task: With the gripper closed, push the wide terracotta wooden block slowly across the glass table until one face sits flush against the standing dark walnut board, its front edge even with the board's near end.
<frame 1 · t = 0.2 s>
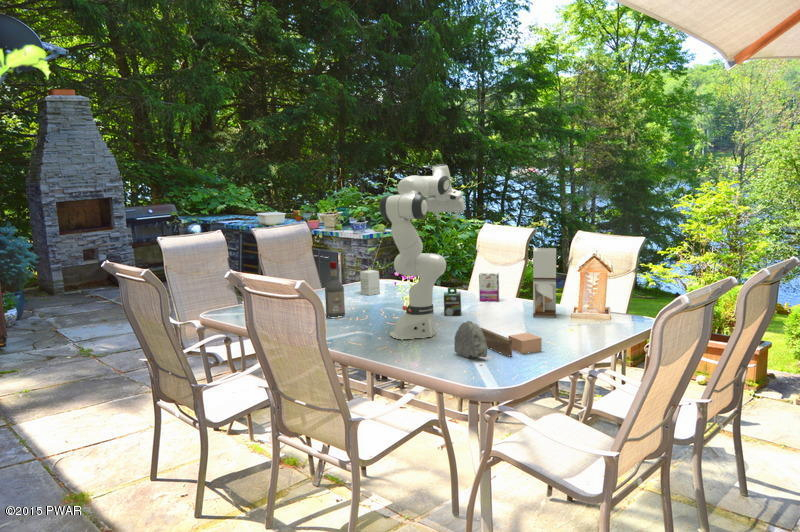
hand: (447, 219, 327), 52 cm above the table, tool tilted 20°, fingers open, 8 cm apart
liquor: (335, 316, 343), on the table
decorative rock: (471, 357, 263), on the table
chalk box: (452, 314, 341), on the table
board: (493, 349, 272), on the table
block: (524, 350, 270), on the table
candy bar box: (489, 301, 371), on the table
display case: (544, 315, 331), on the table
supplement box: (370, 294, 403), on the table
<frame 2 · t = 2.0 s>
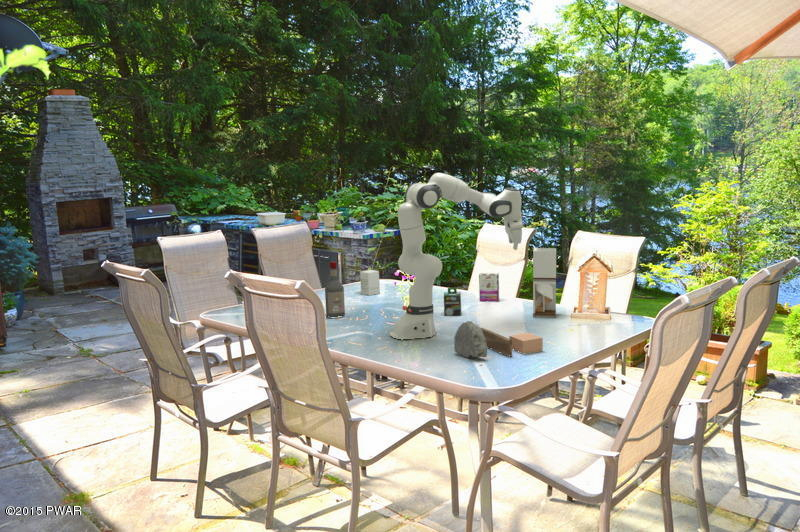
hand: (513, 246, 315), 39 cm above the table, tool pointing down, fingers open, 8 cm apart
nothing on the table moved.
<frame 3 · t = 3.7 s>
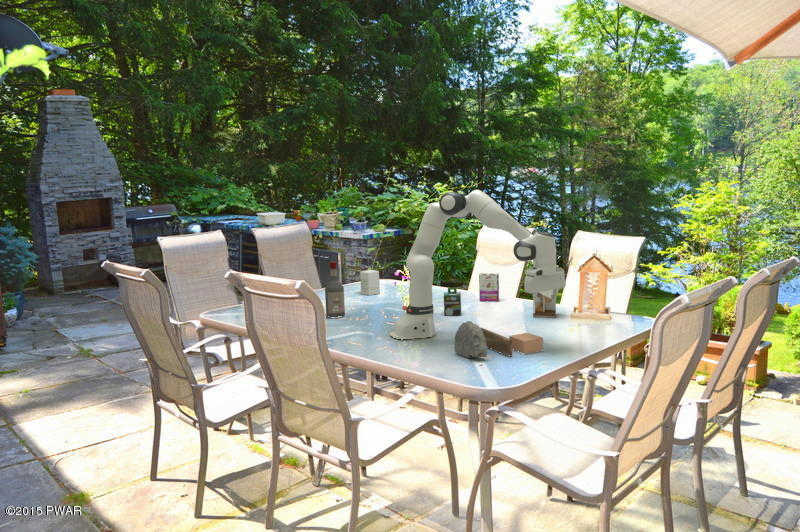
hand: (545, 300, 273), 20 cm above the table, tool pointing down, fingers open, 8 cm apart
nothing on the table moved.
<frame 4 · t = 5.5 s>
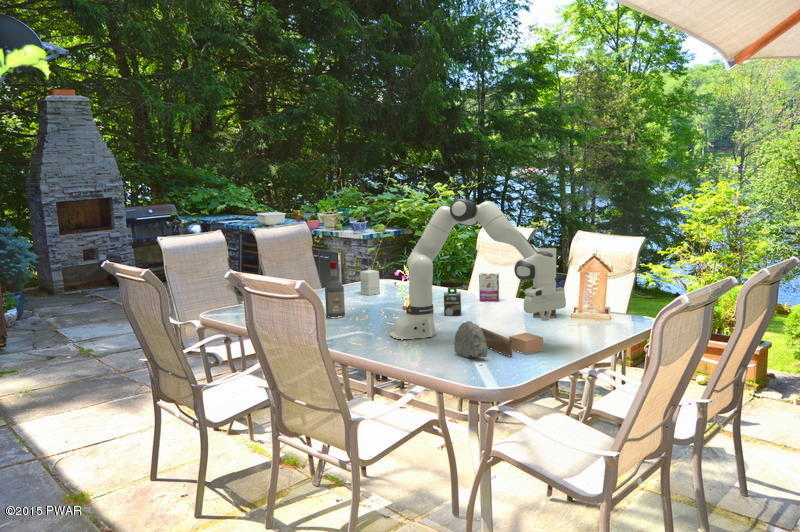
hand: (545, 320, 273), 11 cm above the table, tool pointing down, fingers closed
nothing on the table moved.
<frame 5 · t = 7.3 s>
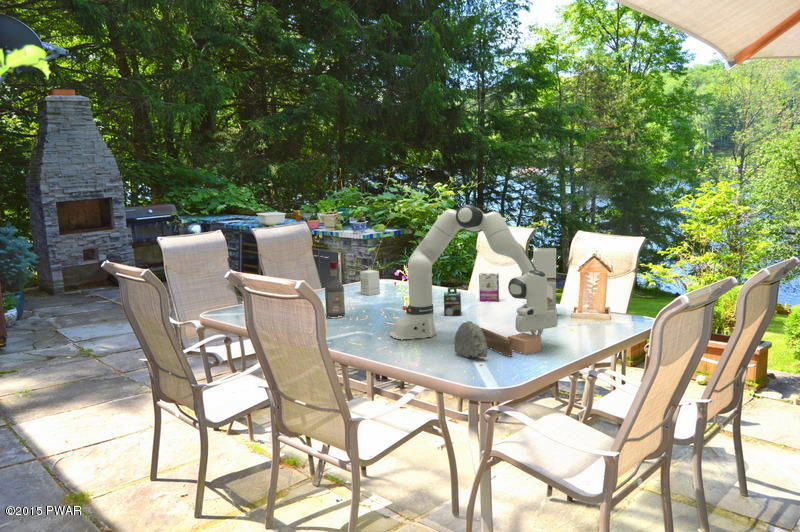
hand: (536, 339, 273), 4 cm above the table, tool pointing down, fingers closed
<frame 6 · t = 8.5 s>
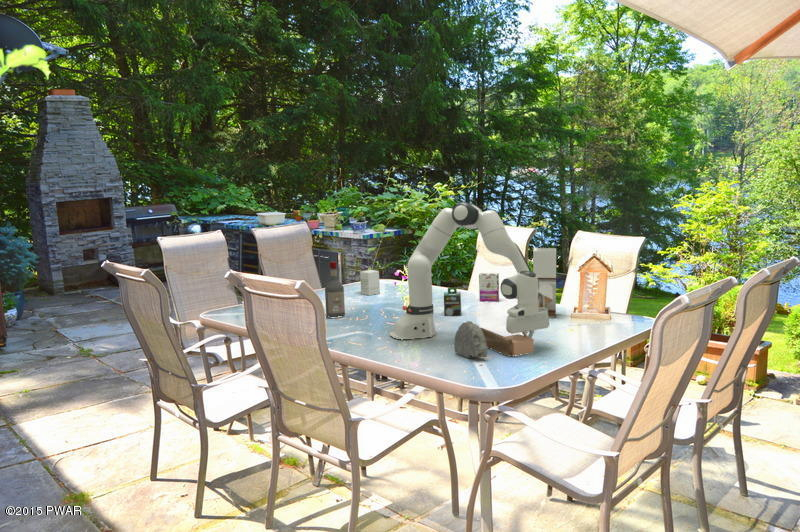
hand: (528, 340, 270), 4 cm above the table, tool pointing down, fingers closed
block: (516, 351, 267), on the table, touching board, gripper
everything else where it was.
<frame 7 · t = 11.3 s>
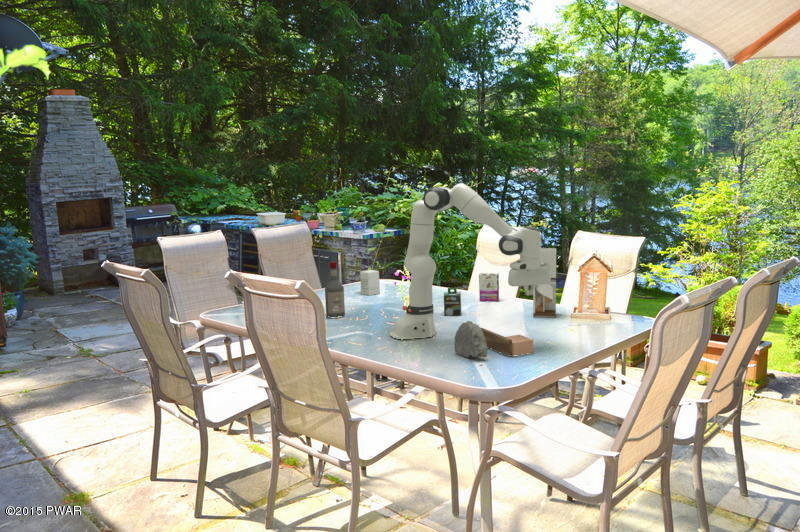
hand: (529, 295, 276), 22 cm above the table, tool pointing down, fingers closed
block: (516, 352, 267), on the table
everything else where it was.
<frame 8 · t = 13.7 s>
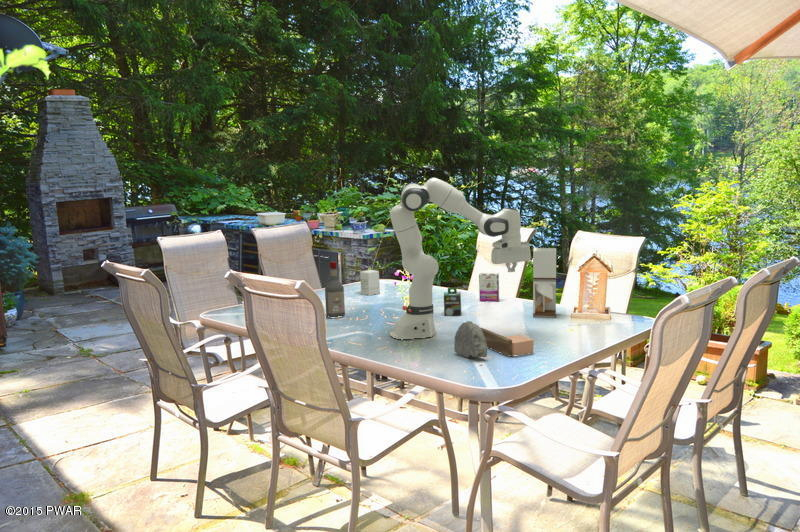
hand: (511, 271, 295), 29 cm above the table, tool pointing down, fingers closed
nothing on the table moved.
at the end: block 1.1 cm from the target spot on the table beside the board, on the table; block tilted 0° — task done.
